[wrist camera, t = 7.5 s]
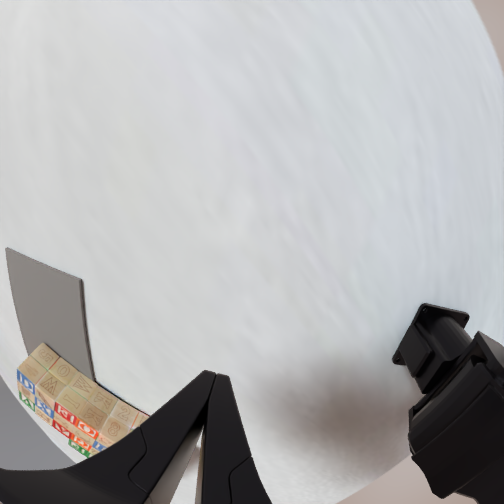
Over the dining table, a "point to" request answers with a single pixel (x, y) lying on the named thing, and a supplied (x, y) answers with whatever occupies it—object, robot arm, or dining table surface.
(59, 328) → the mat
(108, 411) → the stack of blocks
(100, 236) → the dining table surface
